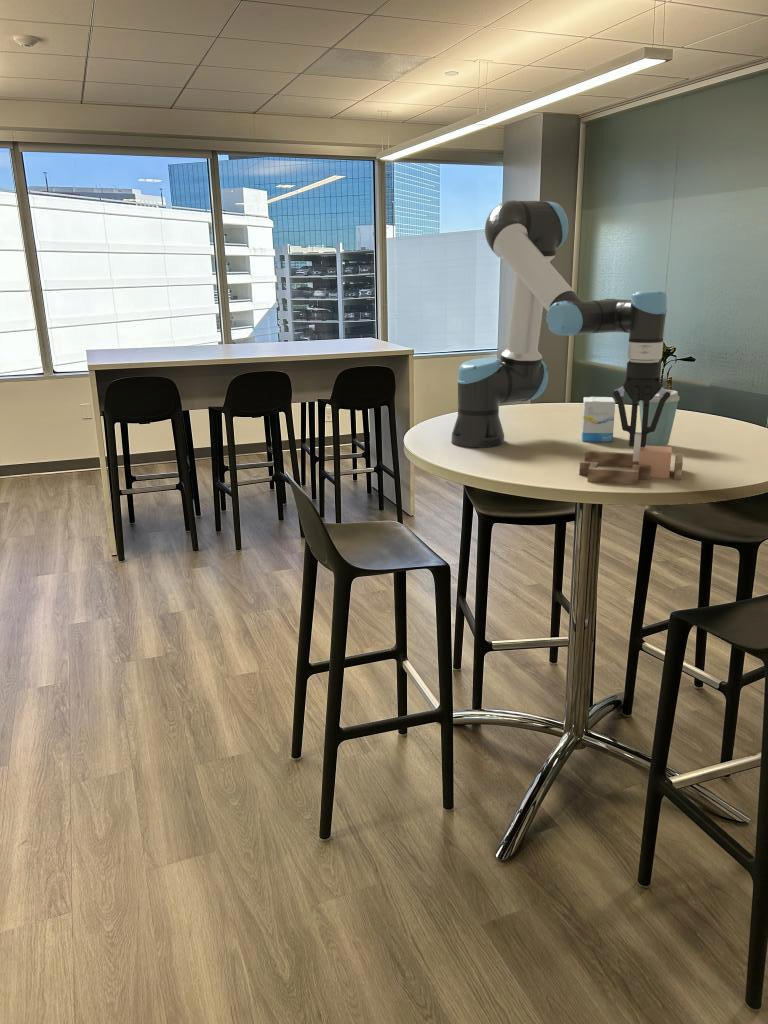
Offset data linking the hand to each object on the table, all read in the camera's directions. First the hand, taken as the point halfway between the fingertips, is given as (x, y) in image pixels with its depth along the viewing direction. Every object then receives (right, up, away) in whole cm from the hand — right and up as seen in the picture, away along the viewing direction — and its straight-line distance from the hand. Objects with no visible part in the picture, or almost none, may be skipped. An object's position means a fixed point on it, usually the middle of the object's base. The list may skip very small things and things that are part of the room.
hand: (636, 460), depth 180 cm
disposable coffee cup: (+14, +6, +27) cm, 31 cm away
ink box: (+1, +9, +37) cm, 38 cm away
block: (+4, -3, -1) cm, 5 cm away
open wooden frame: (-2, -3, -1) cm, 4 cm away
